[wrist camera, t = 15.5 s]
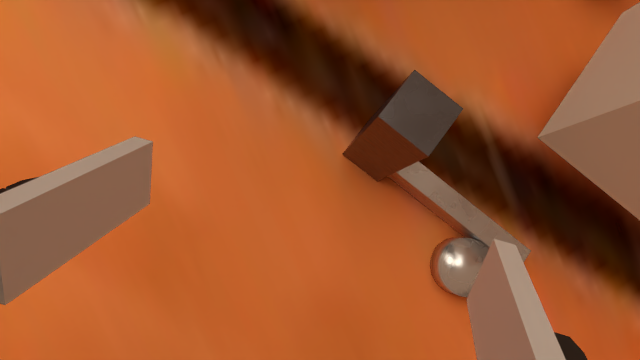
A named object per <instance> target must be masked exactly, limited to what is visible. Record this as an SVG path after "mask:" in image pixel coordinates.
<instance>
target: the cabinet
mask: <svg viewBox="0 0 640 360" xmlns="http://www.w3.org/2000/svg"><path fill="white" fill-rule="evenodd" d="M537 138H539V139H540V140H541V141H542V142H544V143H545V144H546V145H547V146H548V147H550V148H551V149H552V150H553V151H555V152H556V153H557V154H558V155H560V156H561V157H562V158H563V159H565V160H566V161H567V162H568V163H569V164H571V165H572V166H573V167H574V168H576V169H577V170H578V171H579V172H581V173H582V174H583V175H584V176H586V177H587V178H588V179H589V180H590V181H592V182H593V183H594V184H595V185H597V186H598V187H599V188H600V189H602V190H603V191H604V192H605V193H607V194H608V195H609V196H610V197H611V198H613V199H614V200H615V201H616V202H618V203H619V204H620V205H621V206H623V207H624V208H625V209H626V210H628V211H629V212H630V213H631V214H632V215H634V216H635V217H636V218H637V219H639V220H640V2H639V3H637V4H636V5H634V6H633V7H631V8H629V9H628V10H626V11H624V12H623V13H622V14H621V15H620V17H619V18H618V20H617V21H616V23H615V24H614V26H613V27H612V29H611V30H610V31H609V33H608V34H607V36H606V37H605V39H604V40H603V42H602V43H601V45H600V46H599V48H598V49H597V51H596V52H595V54H594V55H593V56H592V58H591V59H590V61H589V62H588V64H587V65H586V67H585V68H584V70H583V71H582V73H581V74H580V76H579V77H578V79H577V80H576V81H575V83H574V84H573V86H572V87H571V89H570V90H569V92H568V93H567V95H566V96H565V98H564V99H563V101H562V102H561V104H560V105H559V106H558V108H557V109H556V111H555V112H554V114H553V115H552V117H551V118H550V120H549V121H548V123H547V124H546V126H545V127H544V129H543V130H542V131H541V133H540V134H539V136H538V137H537Z"/></svg>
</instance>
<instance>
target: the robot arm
mask: <svg viewBox="0 0 640 360" xmlns="http://www.w3.org/2000/svg"><path fill="white" fill-rule="evenodd" d="M152 147H153V142H152V141H149V140H145V139H142V138H138V137H132V138H130V139H128V140H125V141H123V142H121V143H118V144H116V145H114V146H111V147H109V148H107V149H104V150H102V151H100V152H97V153H95V154H92V155H90V156H88V157H85V158H83V159H81V160H78V161H76V162H74V163H71V164H69V165H67V166H64V167H62V168H60V169H57V170H55V171H52V172H50V173H48V174H45V175H43V176H41V177H36V178H31V179H26V180H22V181H19V182H17V183H15V184H12V185H10V186H7V187H6V189H4V188H2V189H0V304H3V305H6V304H8V303H9V302H10V301H12V300H13V299H15V298H16V297H18V296H19V295H20V294H22V293H23V292H25V291H26V290H28V289H29V288H30V287H32V286H33V285H35V284H36V283H38V282H39V281H40V280H42V279H43V278H45V277H46V276H48V275H49V274H50V273H52V272H53V271H55V270H56V269H58V268H59V267H60V266H62V265H63V264H65V263H66V262H67V261H69V260H70V259H72V258H73V257H75V256H76V255H77V254H79V253H80V252H82V251H83V250H85V249H86V248H87V247H89V246H90V245H92V244H93V243H95V242H96V241H97V240H99V239H100V238H102V237H103V236H105V235H106V234H107V233H109V232H110V231H112V230H113V229H115V228H116V227H117V226H119V225H120V224H122V223H123V222H124V221H126V220H127V219H129V218H130V217H132V216H133V215H134V214H136V213H137V212H139V211H140V210H142V209H143V208H144V207H146V206H147V205H149V204H150V189H151V168H152ZM467 306H468V311H469V317H470V322H471V328H472V334H473V339H474V345H475V351H476V356H477V360H587V358H586V356H585V354H584V352H583V351H582V350H581V349H580V348H579V347H578V346H577V345H576V343H575V342H574V341H573V340H572V339H571V338H570V337H568V336H565V335H562V334H558V333H555V332H554V331H553V329H552V327H551V325H550V322H549V320H548V318H547V315H546V313H545V311H544V309H543V306H542V304H541V302H540V299H539V297H538V295H537V293H536V290H535V288H534V286H533V283H532V281H531V279H530V276H529V274H528V272H527V270H526V267H525V265H524V263H523V260H522V258H521V256H520V254H519V251H518V249H517V247H516V245H514V244H510V243H507V242H503V241H500V240H496V239H493V241H492V244H491V246H490V248H489V250H488V253H487V255H486V257H485V259H484V262H483V264H482V266H481V268H480V271H479V273H478V275H477V277H476V280H475V282H474V284H473V287H472V289H471V291H470V293H469V296H468V298H467Z"/></svg>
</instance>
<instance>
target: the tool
mask: <svg viewBox="0 0 640 360" xmlns="http://www.w3.org/2000/svg"><path fill="white" fill-rule="evenodd" d="M462 110H463V108H462V107H460V106H459V105H458V104H457V103H455V102H454V101H453V100H452V99H450V98H449V97H448V96H447V95H445V94H444V93H443V92H442V91H440V90H439V89H438V88H437V87H435V86H434V85H433V84H432V83H430V82H429V81H428V80H427V79H425V78H424V77H423V76H422V75H421V74H419V73H418V72H417V71H416V70H414V71H413V72H412V73H411V74H410V75H409V76H408V78H407V79H406V80H405V81H404V82H403V83H402V84H401V85H400V86H399V87H398V89H397V90H396V91H395V92H394V93H393V94H392V95H391V96H390V97H389V99H388V100H387V101H386V102H385V103H384V104H383V105H382V106H381V107H380V108H379V110H378V111H377V112H376V113H375V114H374V115H373V116H372V117H371V118H370V120H369V121H368V122H367V123H366V124H365V126H364V127H363V128H362V130H361V131H360V132H359V133H358V135H357V136H356V137H355V139H354V140H353V141H352V142H351V144H350V145H349V146H348V148H347V149H346V150H345V151H344V153H343V155H344V156H346V157H347V158H348V159H349V160H351V161H352V162H353V163H354V164H356V165H357V166H358V167H359V168H361V169H362V170H363V171H364V172H366V173H367V174H368V175H370V176H371V177H372V178H373V179H375V180H376V181H379V180H381V179H383V178H385V177H387V176H388V177H389V178H390V179H392V180H393V181H394V182H395V183H397V184H398V185H399V186H401V187H402V188H403V189H404V190H406V191H407V192H408V193H409V194H411V195H412V196H413V197H414V198H416V199H417V200H418V201H419V202H421V203H422V204H423V205H424V206H426V207H427V208H428V209H430V210H431V211H432V212H433V213H435V214H436V215H437V216H438V217H440V218H441V219H442V220H443V221H445V222H446V223H447V224H448V225H450V226H451V227H452V228H454V229H455V230H456V231H457V232H459V233H460V234H461V235H462V236H464V237H465V238H472V239H475V240H478V241H480V242H481V243H483V244H484V245H485V246H486V247H487V248H488V250H489V248H490V246H491V244H492V241H493V239H496V240H500V241H503V242H507V243H510V244H514V245H516V247H517V249H518V251H519V254H520V256H521V258H522V260H523V263H524V261H525V259H526V258H527V256H528V255H529V253H530V252H531V250H529V249H528V248H527V247H526V246H524V245H523V244H522V243H521V242H519V241H518V240H517V239H515V238H514V237H513V236H512V235H510V234H509V233H508V232H507V231H505V230H504V229H503V228H502V227H500V226H499V225H498V224H497V223H495V222H494V221H493V220H492V219H490V218H489V217H488V216H487V215H485V214H484V213H483V212H482V211H480V210H479V209H478V208H476V207H475V206H474V205H473V204H471V203H470V202H469V201H468V200H466V199H465V198H464V197H463V196H461V195H460V194H459V193H458V192H456V191H455V190H454V189H453V188H451V187H450V186H449V185H448V184H446V183H445V182H444V181H443V180H441V179H440V178H439V177H437V176H436V175H435V174H434V173H432V172H431V171H430V170H429V169H427V168H426V167H425V166H424V165H422V164H421V163H420V162H419V161H420V160H422V159H424V158H426V157H428V156H429V155H430V154H431V152H432V151H433V150H434V148H435V147H436V145H437V144H438V143H439V141H440V140H441V139H442V137H443V136H444V135H445V133H446V132H447V130H448V129H449V128H450V126H451V125H452V124H453V122H454V121H455V119H456V118H457V117H458V115H459V114H460V113H461V111H462Z"/></svg>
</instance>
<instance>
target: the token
mask: <svg viewBox="0 0 640 360" xmlns="http://www.w3.org/2000/svg"><path fill="white" fill-rule="evenodd" d="M487 253H488V248H487V247H486V246H485V245H484V244H483V243H481V242H480V241H478V240H475V239H472V238H449V239H446V240H444V241H442V242H441V243H440V244H438V245H437V247H436V248H435V249H434V251H433V253H432V256H431V260H430V269H431V273H432V276H433V279H434V280H435V282H436V283H437V284H438V286H440V287H441V288H442V289H443V290H445V291H447V292H449V293H452V294H456V295H459V296H462V297H468V296H469V293H470V291H471V289H472V287H473V284H474V282H475V280H476V277H477V275H478V273H479V271H480V268H481V266H482V264H483V262H484V259H485V257H486V255H487Z"/></svg>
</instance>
